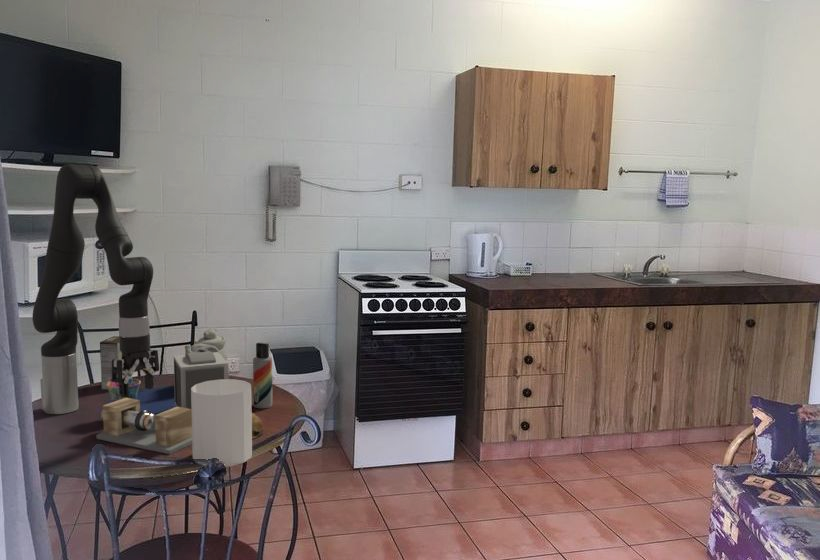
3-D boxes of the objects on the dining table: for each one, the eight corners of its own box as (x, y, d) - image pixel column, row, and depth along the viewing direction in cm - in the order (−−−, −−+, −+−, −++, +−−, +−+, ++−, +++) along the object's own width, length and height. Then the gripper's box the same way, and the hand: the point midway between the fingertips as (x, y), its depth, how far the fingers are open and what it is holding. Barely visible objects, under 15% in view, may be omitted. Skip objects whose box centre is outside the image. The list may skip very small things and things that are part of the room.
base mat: (96, 438, 185) (96, 435, 185) (131, 425, 196) (131, 421, 195) (169, 454, 175) (169, 450, 175) (202, 439, 186) (202, 435, 186)
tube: (99, 425, 188) (98, 406, 188) (115, 420, 193) (114, 401, 193) (144, 435, 182) (143, 415, 181) (159, 428, 187) (158, 409, 186)
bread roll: (238, 455, 185) (247, 431, 182) (214, 432, 189) (222, 409, 186) (265, 444, 193) (274, 421, 190) (240, 422, 197) (249, 399, 195)
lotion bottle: (249, 407, 213) (249, 343, 211) (260, 402, 219) (259, 339, 216) (265, 409, 211) (265, 345, 209) (276, 404, 216) (275, 341, 214)
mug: (130, 424, 196) (128, 388, 195) (100, 422, 198) (98, 385, 196) (153, 411, 208) (152, 377, 206) (124, 409, 209) (123, 375, 208)
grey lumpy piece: (188, 394, 226) (186, 337, 224) (174, 383, 238) (172, 329, 236) (236, 386, 236) (236, 331, 233) (220, 376, 248) (219, 324, 245)
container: (182, 465, 169) (180, 393, 166) (208, 444, 183) (207, 377, 180) (238, 470, 166) (237, 397, 164) (261, 448, 180) (260, 381, 178)
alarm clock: (230, 420, 202) (229, 358, 199) (183, 426, 196) (181, 362, 194) (218, 402, 218) (217, 345, 216) (174, 407, 212) (172, 348, 210)
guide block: (103, 433, 186) (102, 405, 185) (126, 424, 193) (126, 397, 192) (117, 435, 184) (116, 408, 183) (140, 426, 191) (139, 400, 190)
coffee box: (115, 382, 238) (113, 335, 236) (133, 382, 238) (131, 336, 236) (100, 389, 229) (98, 341, 227) (119, 390, 229) (117, 342, 226)
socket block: (155, 443, 179) (154, 415, 178) (177, 434, 186) (176, 406, 185) (170, 446, 177) (170, 418, 176) (192, 437, 184) (191, 409, 183)
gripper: (143, 327, 191) (146, 384, 193) (102, 336, 178) (105, 398, 180) (165, 329, 188) (167, 387, 190) (124, 339, 175) (127, 401, 177)
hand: (137, 392), depth 185 cm, fingers open, 8 cm apart
